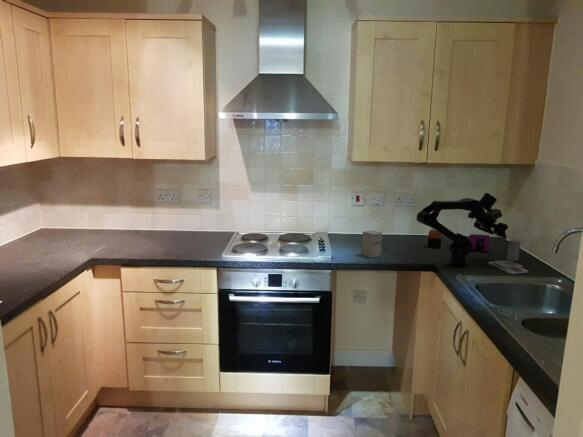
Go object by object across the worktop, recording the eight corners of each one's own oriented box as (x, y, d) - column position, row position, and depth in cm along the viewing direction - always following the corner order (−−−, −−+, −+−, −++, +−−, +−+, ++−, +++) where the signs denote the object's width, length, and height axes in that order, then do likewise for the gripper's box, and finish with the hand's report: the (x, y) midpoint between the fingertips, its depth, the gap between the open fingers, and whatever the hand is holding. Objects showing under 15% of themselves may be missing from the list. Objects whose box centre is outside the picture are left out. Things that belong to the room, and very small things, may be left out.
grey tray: (511, 274, 216) (512, 269, 216) (487, 263, 232) (488, 259, 231) (528, 272, 219) (528, 268, 218) (503, 262, 234) (503, 258, 234)
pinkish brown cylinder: (370, 258, 238) (372, 234, 235) (361, 254, 244) (362, 231, 241) (381, 256, 242) (382, 232, 239) (371, 252, 248) (372, 229, 245)
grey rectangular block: (512, 261, 237) (514, 242, 235) (507, 258, 240) (509, 240, 238) (518, 260, 238) (520, 241, 236) (512, 258, 242) (515, 239, 239)
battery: (428, 245, 264) (429, 228, 262) (440, 247, 261) (442, 229, 259) (427, 247, 260) (428, 230, 258) (440, 249, 257) (441, 231, 255)
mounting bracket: (463, 255, 268) (471, 249, 251) (463, 240, 270) (470, 234, 252) (480, 255, 266) (489, 250, 249) (480, 241, 268) (489, 235, 251)
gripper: (506, 207, 218) (523, 228, 224) (479, 201, 236) (496, 220, 241) (491, 226, 218) (509, 245, 223) (465, 217, 235) (483, 236, 241)
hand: (499, 236), depth 232 cm, fingers open, 9 cm apart
